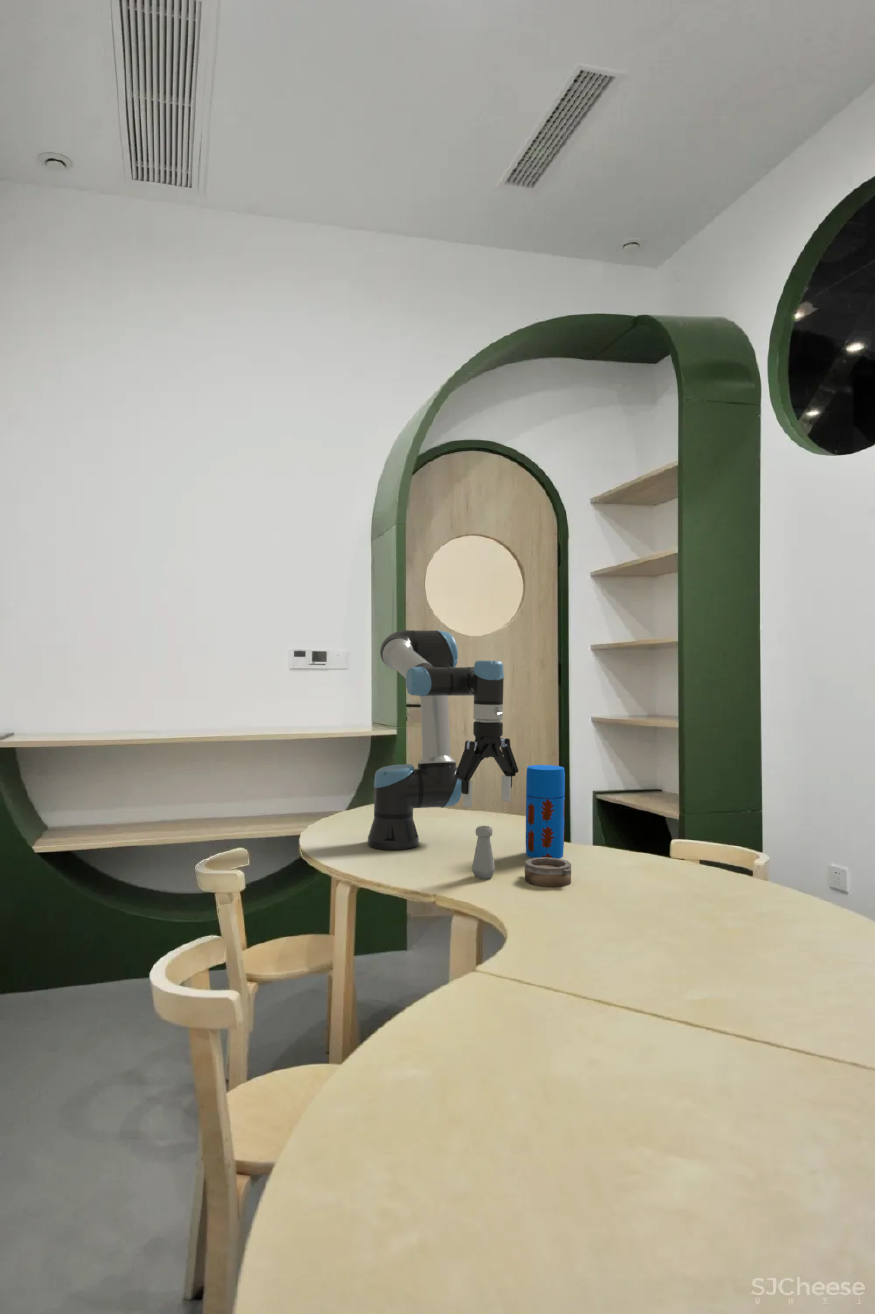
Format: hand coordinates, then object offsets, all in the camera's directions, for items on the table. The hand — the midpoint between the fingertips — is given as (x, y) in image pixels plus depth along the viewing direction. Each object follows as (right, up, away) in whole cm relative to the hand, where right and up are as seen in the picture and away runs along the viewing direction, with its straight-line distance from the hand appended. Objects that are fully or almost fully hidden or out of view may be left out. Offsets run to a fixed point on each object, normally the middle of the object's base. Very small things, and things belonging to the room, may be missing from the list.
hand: (487, 803), depth 210 cm
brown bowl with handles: (+15, -19, -3) cm, 24 cm away
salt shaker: (-1, -19, 0) cm, 19 cm away
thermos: (+18, -19, +24) cm, 36 cm away
